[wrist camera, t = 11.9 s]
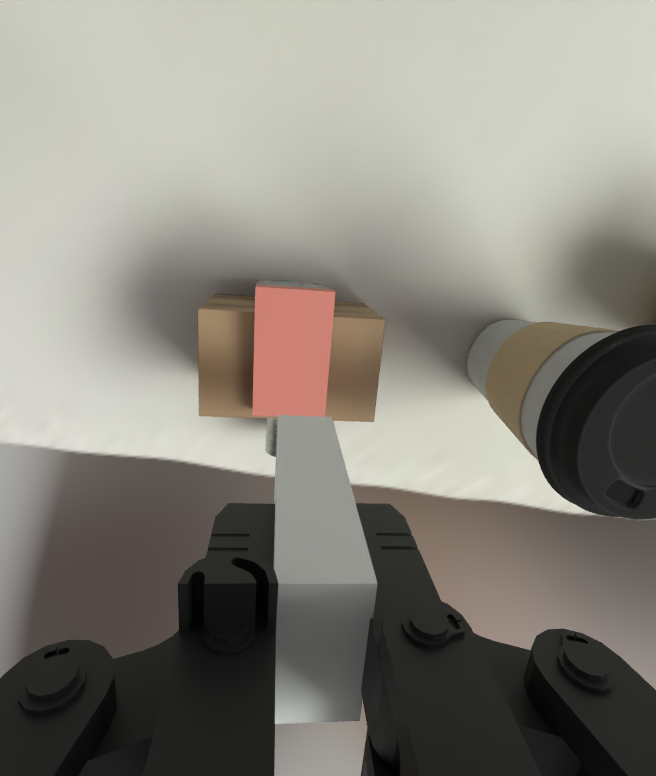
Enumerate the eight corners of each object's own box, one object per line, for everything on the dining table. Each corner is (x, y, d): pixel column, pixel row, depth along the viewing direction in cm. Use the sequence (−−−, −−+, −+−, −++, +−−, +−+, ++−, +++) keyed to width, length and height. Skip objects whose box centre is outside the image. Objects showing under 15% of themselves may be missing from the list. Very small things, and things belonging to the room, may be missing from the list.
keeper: (256, 284, 24) (255, 286, 23) (333, 289, 24) (335, 291, 23) (253, 409, 26) (252, 415, 25) (323, 412, 27) (324, 418, 26)
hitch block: (215, 293, 31) (197, 308, 24) (363, 303, 32) (384, 320, 25) (215, 380, 33) (199, 416, 26) (355, 386, 34) (373, 421, 27)
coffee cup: (439, 419, 35) (546, 541, 21) (447, 294, 32) (578, 336, 18) (557, 414, 36) (737, 528, 22) (575, 291, 33) (797, 330, 19)
